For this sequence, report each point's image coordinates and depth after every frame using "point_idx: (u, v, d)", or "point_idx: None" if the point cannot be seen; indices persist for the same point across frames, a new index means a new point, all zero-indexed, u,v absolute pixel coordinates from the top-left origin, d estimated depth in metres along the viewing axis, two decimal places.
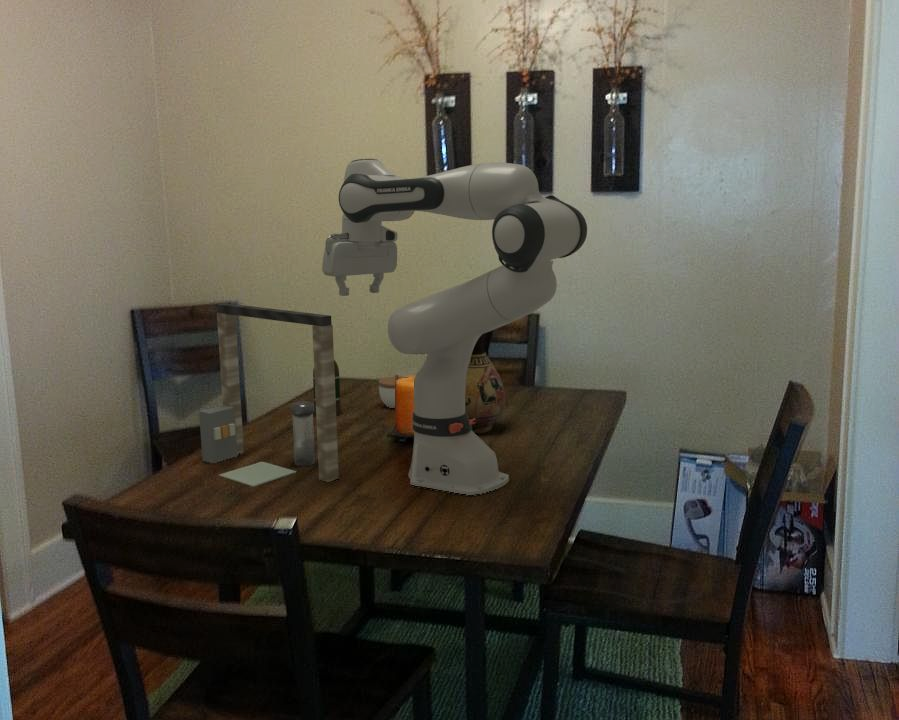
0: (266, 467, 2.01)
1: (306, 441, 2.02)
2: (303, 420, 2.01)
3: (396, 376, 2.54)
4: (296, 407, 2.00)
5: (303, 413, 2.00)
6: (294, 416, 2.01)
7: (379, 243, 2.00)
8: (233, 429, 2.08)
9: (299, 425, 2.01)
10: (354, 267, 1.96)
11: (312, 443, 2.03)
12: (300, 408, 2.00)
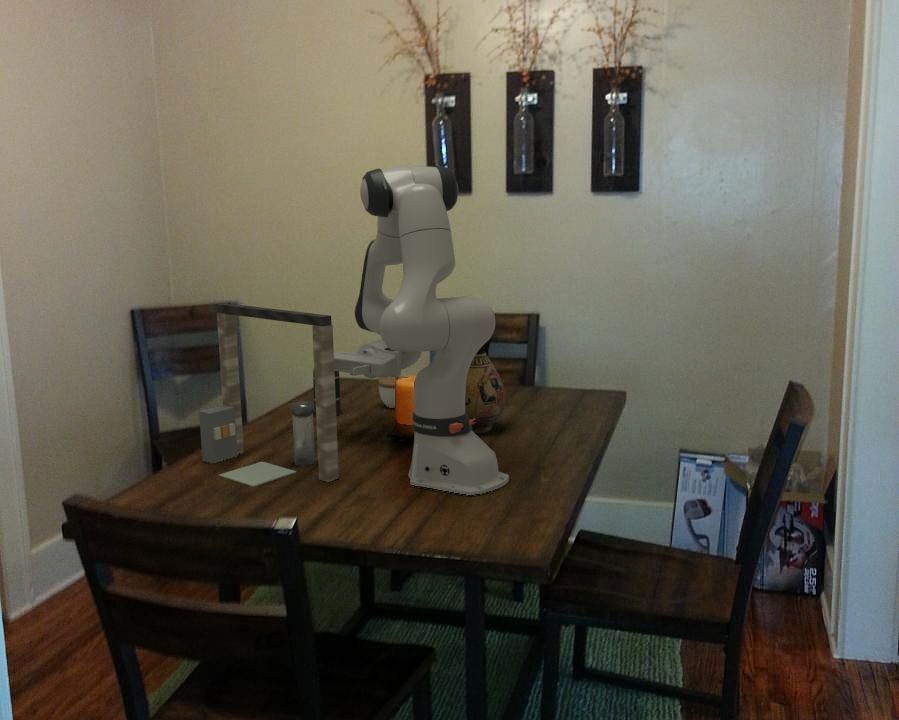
0: (266, 467, 2.01)
1: (306, 441, 2.02)
2: (303, 420, 2.01)
3: None
4: (296, 407, 2.00)
5: (303, 413, 2.00)
6: (294, 416, 2.01)
7: None
8: (233, 429, 2.08)
9: (299, 425, 2.01)
10: (343, 356, 2.18)
11: (312, 443, 2.03)
12: (300, 408, 2.00)
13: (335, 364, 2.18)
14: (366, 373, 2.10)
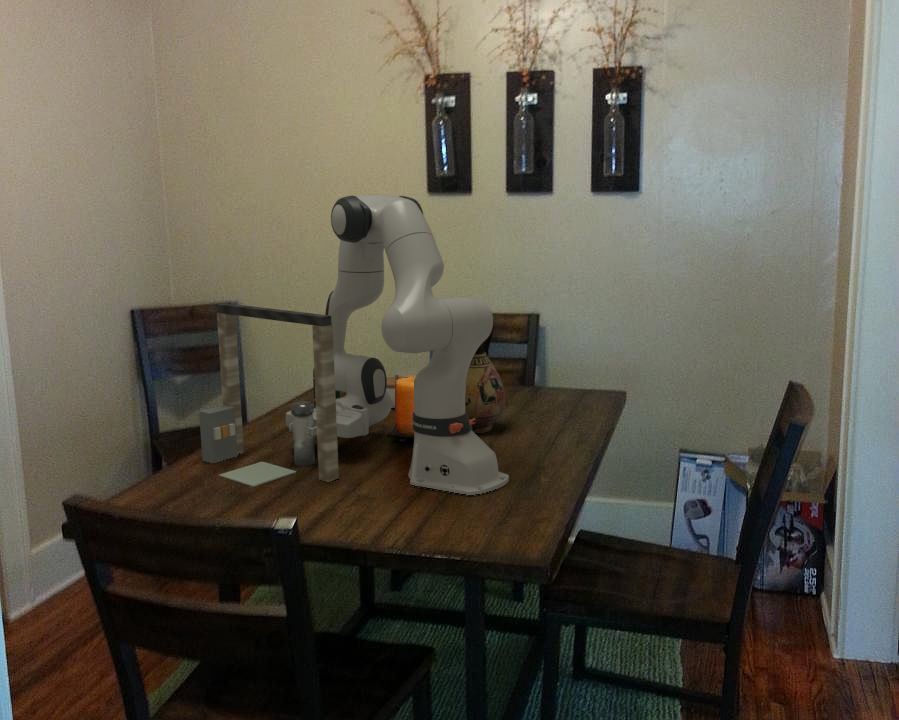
0: (266, 467, 2.01)
1: (306, 441, 2.02)
2: (303, 420, 2.01)
3: (396, 376, 2.54)
4: (296, 407, 2.00)
5: (303, 413, 2.00)
6: (294, 416, 2.01)
7: None
8: (233, 429, 2.08)
9: (299, 425, 2.01)
10: None
11: (312, 443, 2.03)
12: (300, 408, 2.00)
13: None
14: None
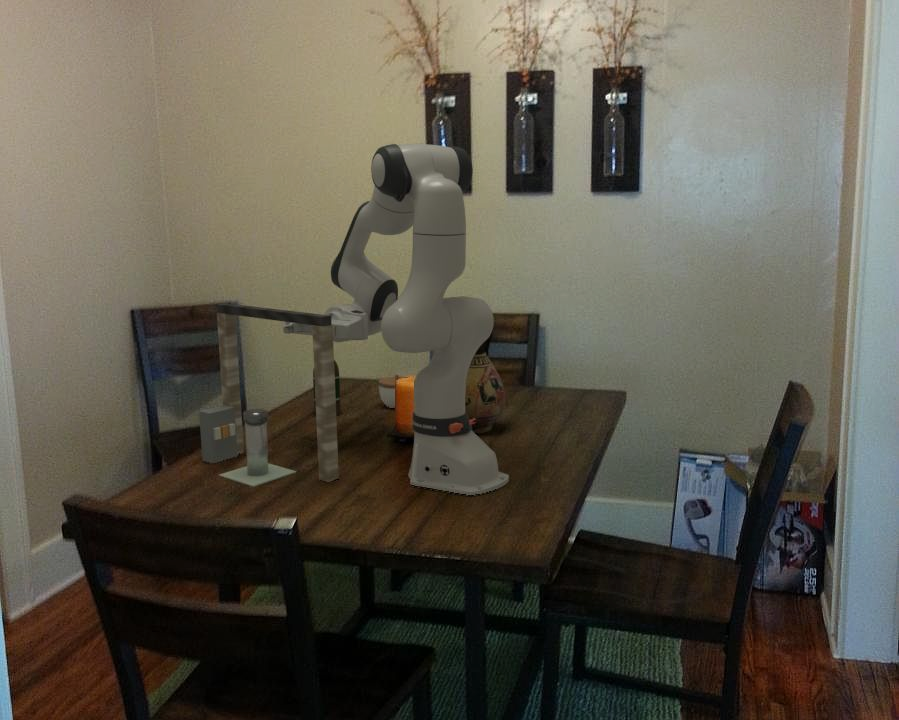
0: None
1: (259, 450, 1.94)
2: (255, 429, 1.93)
3: (396, 376, 2.54)
4: (248, 415, 1.92)
5: (256, 421, 1.92)
6: (246, 424, 1.93)
7: None
8: (233, 429, 2.08)
9: (251, 434, 1.93)
10: None
11: (265, 452, 1.95)
12: (252, 416, 1.92)
13: (300, 327, 2.10)
14: None
